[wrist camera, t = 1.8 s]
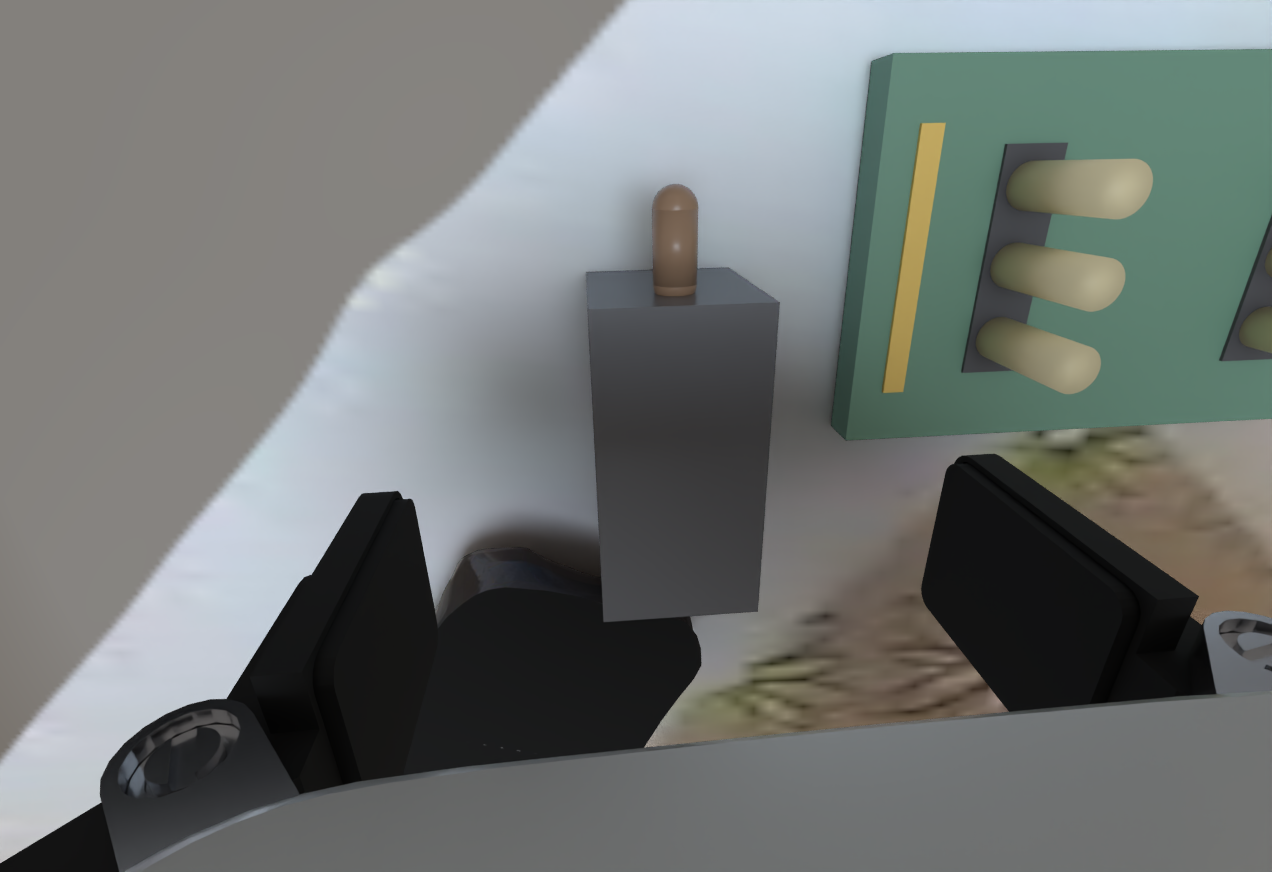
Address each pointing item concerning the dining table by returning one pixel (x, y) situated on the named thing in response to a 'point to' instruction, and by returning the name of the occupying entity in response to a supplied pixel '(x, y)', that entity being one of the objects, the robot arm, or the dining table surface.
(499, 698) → the black sponge
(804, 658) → the dining table surface
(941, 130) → the header board
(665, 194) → the plug housing
